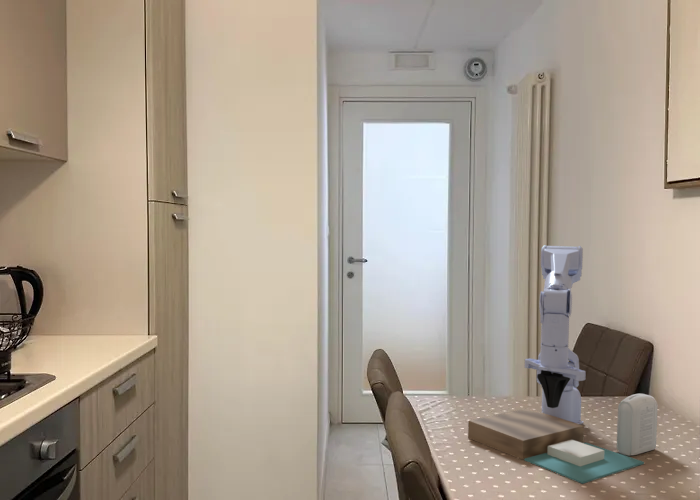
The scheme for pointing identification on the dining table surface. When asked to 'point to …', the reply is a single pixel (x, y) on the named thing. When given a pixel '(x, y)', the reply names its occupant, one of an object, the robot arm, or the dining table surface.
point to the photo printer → (637, 424)
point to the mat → (589, 471)
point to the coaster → (575, 452)
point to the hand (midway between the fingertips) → (552, 406)
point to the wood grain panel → (523, 432)
